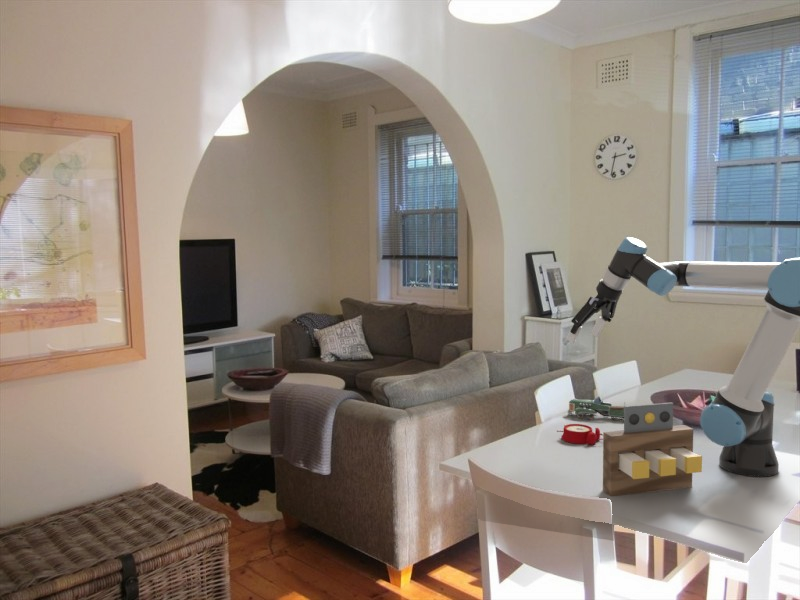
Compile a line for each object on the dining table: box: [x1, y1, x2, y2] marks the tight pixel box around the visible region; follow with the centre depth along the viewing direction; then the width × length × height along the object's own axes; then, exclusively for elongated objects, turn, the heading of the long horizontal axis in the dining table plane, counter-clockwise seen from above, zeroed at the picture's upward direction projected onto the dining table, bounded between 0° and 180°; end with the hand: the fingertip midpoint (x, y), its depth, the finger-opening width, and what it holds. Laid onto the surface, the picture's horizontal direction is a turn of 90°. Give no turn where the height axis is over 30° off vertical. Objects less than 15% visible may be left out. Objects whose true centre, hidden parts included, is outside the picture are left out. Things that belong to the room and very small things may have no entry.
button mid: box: [644, 449, 676, 476], centre depth 173 cm, size 9×4×4 cm, turn 12°
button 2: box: [669, 447, 703, 474], centre depth 174 cm, size 9×4×4 cm, turn 12°
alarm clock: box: [556, 423, 603, 446], centre depth 220 cm, size 10×6×15 cm
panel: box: [602, 424, 694, 497], centre depth 177 cm, size 4×24×16 cm, turn 102°
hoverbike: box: [567, 396, 626, 421], centre depth 245 cm, size 10×25×8 cm, turn 64°
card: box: [623, 402, 674, 433], centre depth 176 cm, size 1×14×7 cm, turn 102°
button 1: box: [618, 451, 649, 479], centre depth 171 cm, size 9×4×4 cm, turn 12°
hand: (582, 337), depth 216 cm, fingers open, 13 cm apart
